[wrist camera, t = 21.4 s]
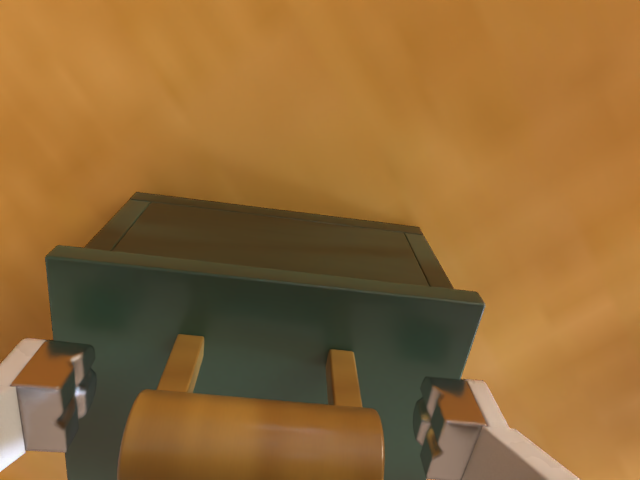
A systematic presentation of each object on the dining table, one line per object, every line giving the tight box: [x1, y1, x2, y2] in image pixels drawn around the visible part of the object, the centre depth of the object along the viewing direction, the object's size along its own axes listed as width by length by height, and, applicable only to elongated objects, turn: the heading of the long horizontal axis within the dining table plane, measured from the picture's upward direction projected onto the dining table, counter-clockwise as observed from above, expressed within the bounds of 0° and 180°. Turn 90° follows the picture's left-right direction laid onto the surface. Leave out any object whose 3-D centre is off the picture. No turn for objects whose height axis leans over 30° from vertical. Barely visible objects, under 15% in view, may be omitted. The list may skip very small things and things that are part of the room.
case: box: [84, 192, 454, 289], centre depth 19 cm, size 14×11×6 cm
